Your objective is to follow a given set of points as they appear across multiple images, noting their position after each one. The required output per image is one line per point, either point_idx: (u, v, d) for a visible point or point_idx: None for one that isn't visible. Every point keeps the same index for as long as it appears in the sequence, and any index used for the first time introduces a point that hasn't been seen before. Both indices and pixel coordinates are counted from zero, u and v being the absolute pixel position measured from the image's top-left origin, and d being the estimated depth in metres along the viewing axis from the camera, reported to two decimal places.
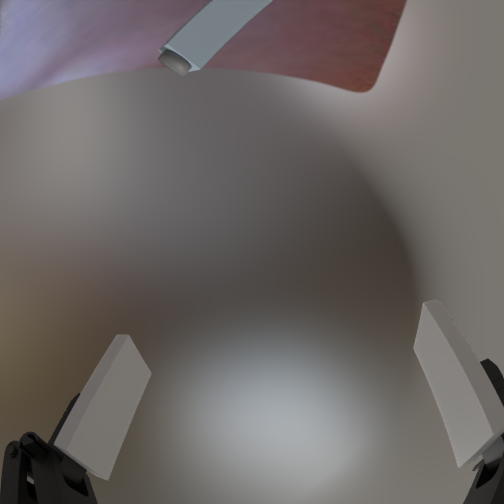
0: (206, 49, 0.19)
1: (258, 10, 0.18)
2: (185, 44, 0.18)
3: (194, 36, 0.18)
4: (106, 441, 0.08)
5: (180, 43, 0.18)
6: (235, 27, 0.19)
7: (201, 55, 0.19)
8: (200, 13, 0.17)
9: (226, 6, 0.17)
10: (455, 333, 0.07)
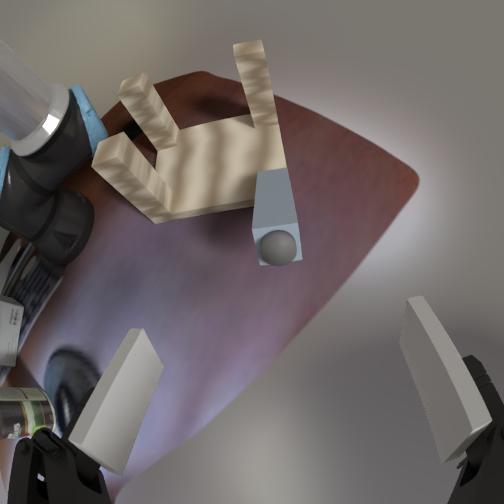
0: (286, 214, 0.25)
1: (289, 185, 0.31)
2: (267, 221, 0.25)
3: (267, 215, 0.26)
4: (121, 435, 0.08)
5: (262, 223, 0.25)
6: (288, 197, 0.28)
7: (287, 218, 0.24)
8: (255, 207, 0.27)
9: (267, 195, 0.29)
10: (437, 329, 0.08)
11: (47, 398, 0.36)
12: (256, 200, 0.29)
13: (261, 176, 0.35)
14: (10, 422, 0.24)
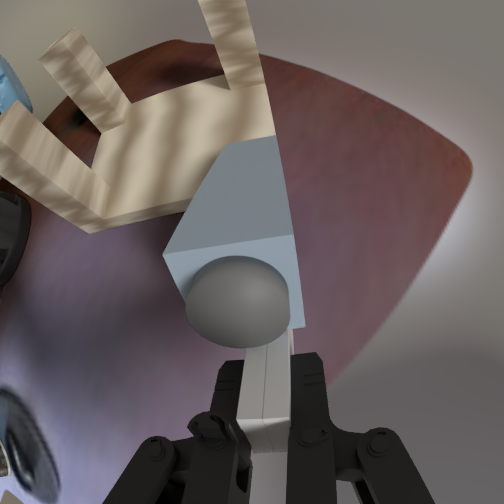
0: (262, 210, 0.09)
1: (277, 155, 0.15)
2: (207, 231, 0.09)
3: (215, 214, 0.10)
4: None
5: (194, 237, 0.09)
6: (273, 174, 0.12)
7: (264, 220, 0.09)
8: (196, 197, 0.12)
9: (229, 175, 0.13)
10: None
11: None
12: (204, 184, 0.13)
13: (229, 149, 0.19)
14: None
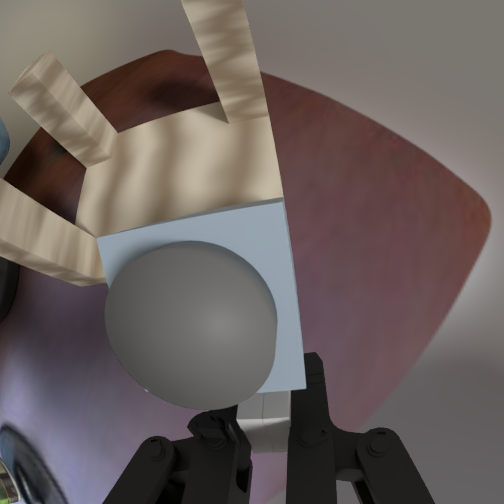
0: None
1: None
2: None
3: None
4: None
5: (145, 226, 0.06)
6: None
7: (244, 206, 0.06)
8: None
9: (220, 208, 0.12)
10: None
11: (6, 470, 0.18)
12: None
13: None
14: None
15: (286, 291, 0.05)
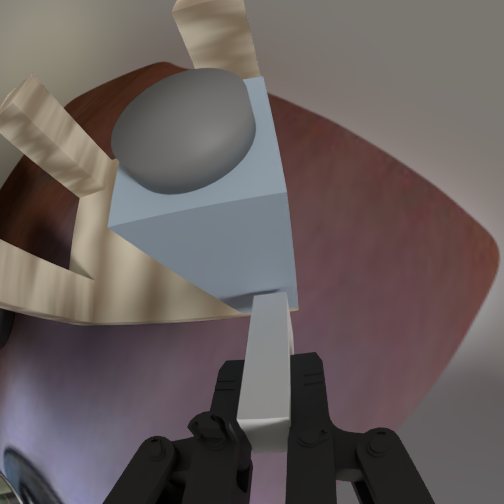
0: None
1: None
2: None
3: None
4: None
5: None
6: None
7: None
8: None
9: None
10: (280, 322, 0.11)
11: (12, 489, 0.17)
12: None
13: None
14: None
15: (263, 111, 0.06)
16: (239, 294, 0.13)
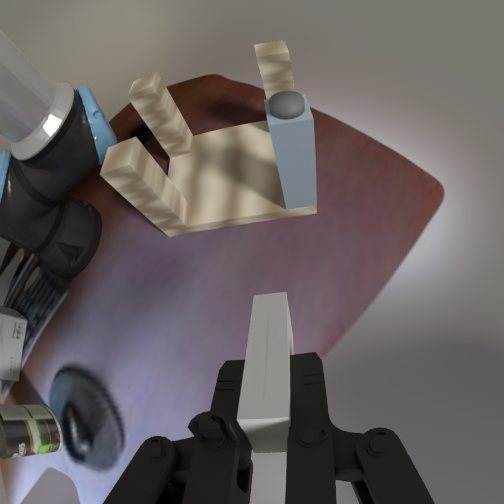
0: None
1: None
2: None
3: None
4: None
5: None
6: None
7: None
8: None
9: None
10: (280, 322, 0.11)
11: (53, 416, 0.34)
12: None
13: None
14: (15, 442, 0.22)
15: (306, 103, 0.23)
16: (291, 178, 0.30)
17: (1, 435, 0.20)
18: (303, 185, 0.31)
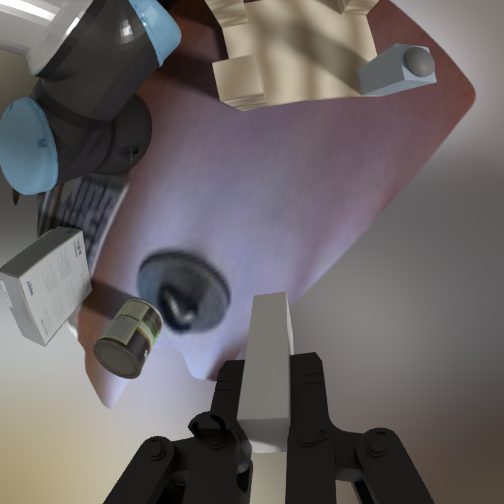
0: None
1: None
2: None
3: None
4: None
5: None
6: None
7: None
8: (383, 53, 0.22)
9: None
10: (280, 322, 0.11)
11: (148, 304, 0.54)
12: (378, 56, 0.23)
13: None
14: (142, 355, 0.46)
15: None
16: (385, 89, 0.27)
17: (129, 359, 0.44)
18: (389, 91, 0.28)
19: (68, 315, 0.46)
